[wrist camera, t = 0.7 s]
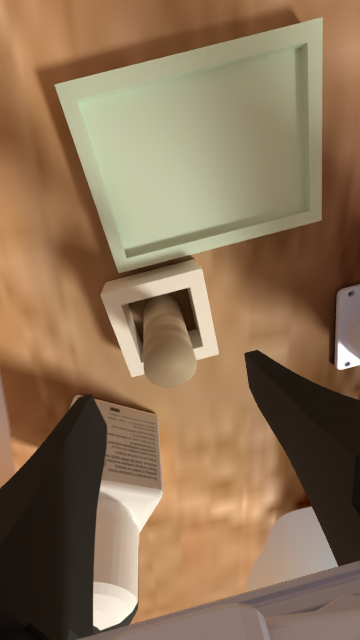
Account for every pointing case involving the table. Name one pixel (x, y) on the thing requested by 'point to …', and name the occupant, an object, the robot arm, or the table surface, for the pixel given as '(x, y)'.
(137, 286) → the square block with hole
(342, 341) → the robot arm
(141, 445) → the container
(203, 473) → the table surface
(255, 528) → the table surface
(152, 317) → the dowel
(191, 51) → the tray
